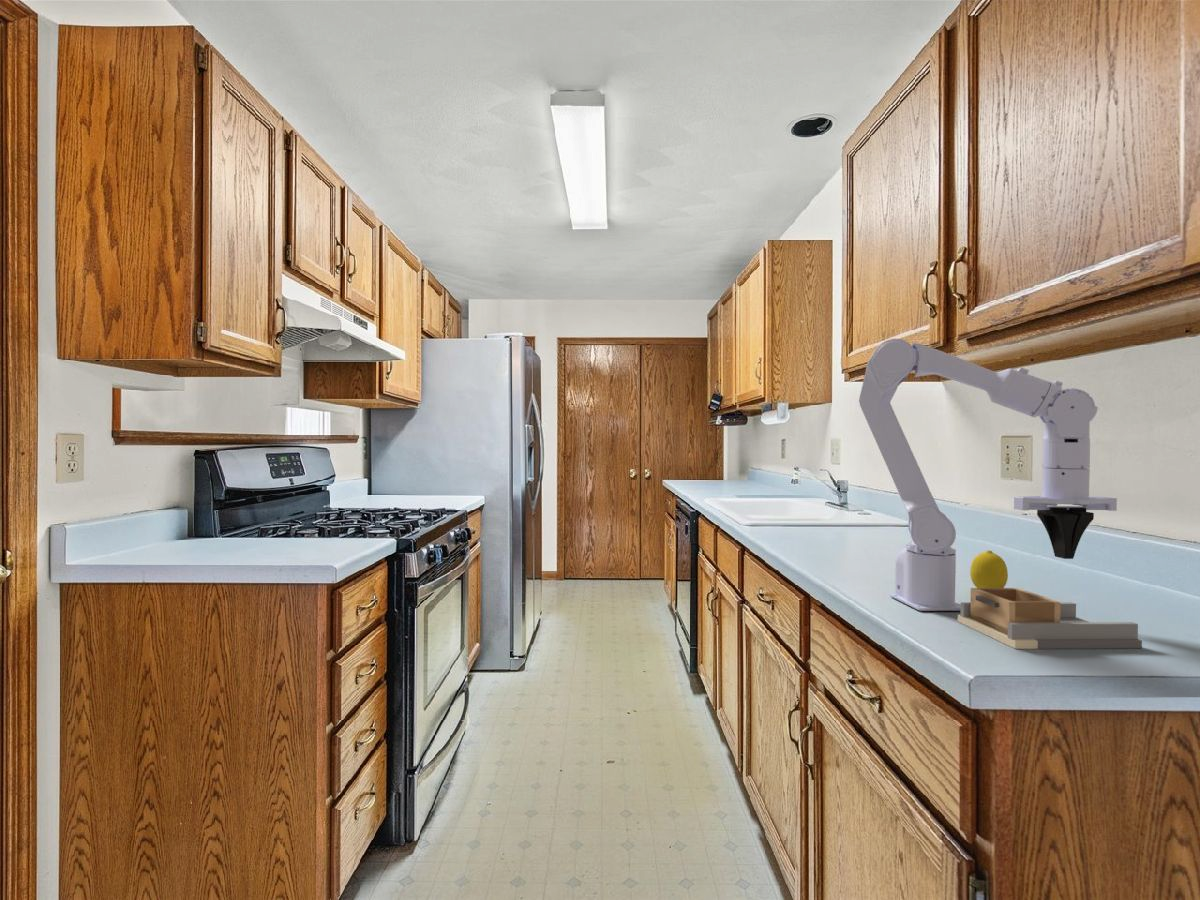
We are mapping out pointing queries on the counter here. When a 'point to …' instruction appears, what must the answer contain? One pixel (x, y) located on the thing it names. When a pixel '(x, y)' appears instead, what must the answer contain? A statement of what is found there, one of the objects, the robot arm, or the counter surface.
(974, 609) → the crate
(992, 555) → the lemon
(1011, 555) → the counter surface
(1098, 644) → the bay
